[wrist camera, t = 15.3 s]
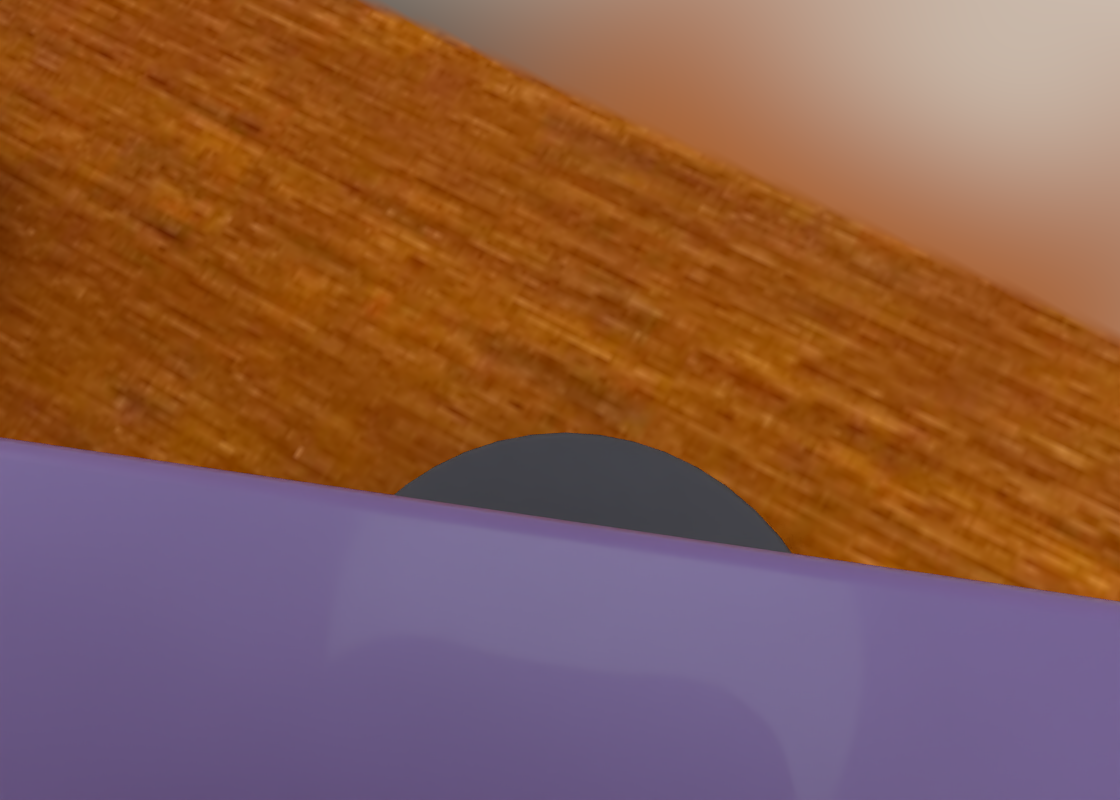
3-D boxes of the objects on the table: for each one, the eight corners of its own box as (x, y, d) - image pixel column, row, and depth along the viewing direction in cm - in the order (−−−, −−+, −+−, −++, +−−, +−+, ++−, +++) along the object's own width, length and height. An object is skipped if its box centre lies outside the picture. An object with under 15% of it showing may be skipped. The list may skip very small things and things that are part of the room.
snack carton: (783, 628, 12) (1409, 642, 3) (765, 859, 11) (1549, 1995, 2) (375, 565, 12) (-287, 394, 3) (330, 782, 12) (-704, 1375, 2)
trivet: (849, 1010, 12) (876, 1053, 10) (285, 990, 12) (251, 1029, 11) (811, 448, 14) (830, 431, 13) (332, 446, 14) (307, 430, 13)
